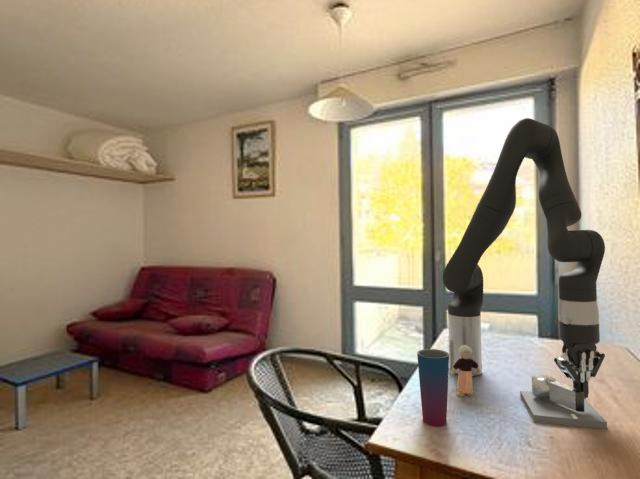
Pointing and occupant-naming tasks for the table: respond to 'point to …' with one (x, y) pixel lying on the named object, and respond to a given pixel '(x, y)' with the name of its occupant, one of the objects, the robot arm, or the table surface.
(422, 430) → the table surface
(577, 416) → the base
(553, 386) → the lever
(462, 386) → the grandmother figurine
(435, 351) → the cup
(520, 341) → the table surface
